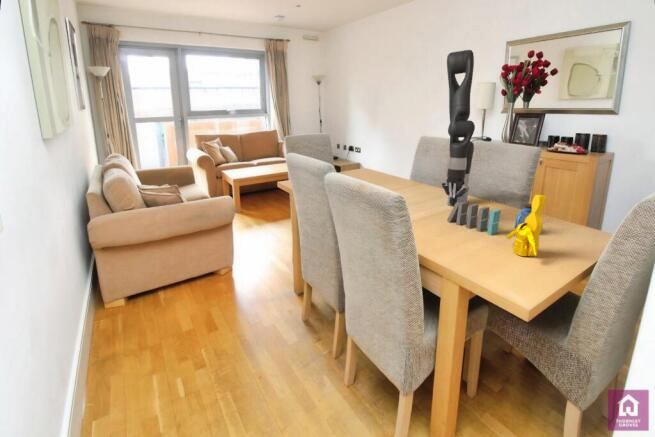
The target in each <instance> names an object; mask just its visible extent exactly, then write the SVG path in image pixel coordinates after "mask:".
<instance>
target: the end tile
mask: <svg viewBox="0 0 655 437" xmlns="http://www.w3.org/2000/svg"><path fill="white" fill-rule="evenodd" d="M501 213H502V212H501V209H497V208H496V209H493V210H491V211H489V217H488V224H487V232H486V234H487V235H488V236H493V235H495V234H497V233H498V232H499V225H500V224H499V223H500V218H501Z"/></svg>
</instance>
